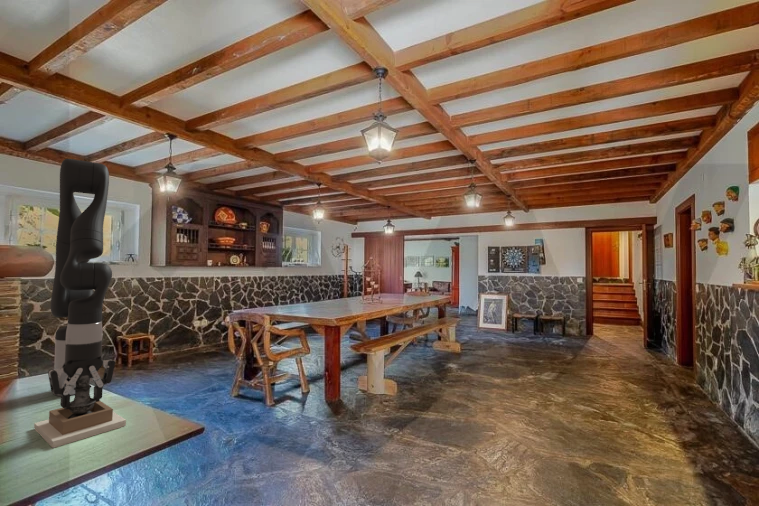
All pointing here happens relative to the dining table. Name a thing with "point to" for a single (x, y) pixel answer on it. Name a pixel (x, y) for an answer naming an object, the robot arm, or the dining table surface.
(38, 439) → the dining table surface
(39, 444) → the dining table surface
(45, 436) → the shaker stand
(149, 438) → the dining table surface
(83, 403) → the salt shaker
